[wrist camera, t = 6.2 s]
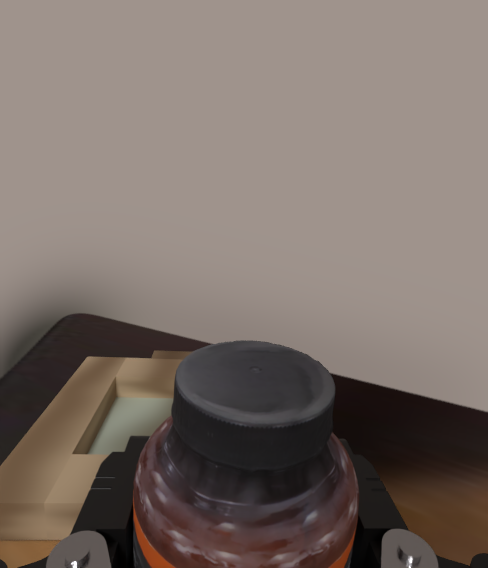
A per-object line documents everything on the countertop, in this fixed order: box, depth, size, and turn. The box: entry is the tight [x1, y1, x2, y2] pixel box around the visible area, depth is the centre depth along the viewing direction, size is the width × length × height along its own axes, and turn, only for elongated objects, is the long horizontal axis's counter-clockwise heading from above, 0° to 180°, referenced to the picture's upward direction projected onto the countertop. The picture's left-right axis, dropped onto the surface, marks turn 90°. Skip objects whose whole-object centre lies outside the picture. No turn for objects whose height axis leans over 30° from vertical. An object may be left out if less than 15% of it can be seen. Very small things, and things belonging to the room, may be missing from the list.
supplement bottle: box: [133, 341, 359, 568], centre depth 11 cm, size 6×6×11 cm
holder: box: [0, 351, 192, 540], centre depth 24 cm, size 14×16×2 cm
